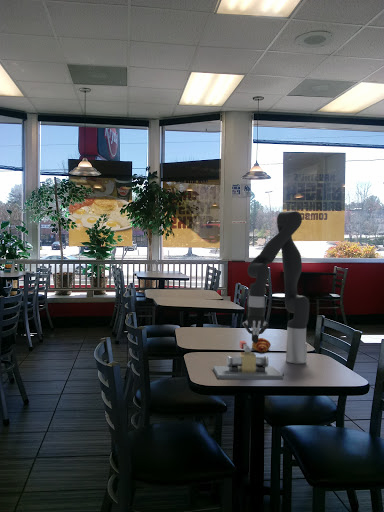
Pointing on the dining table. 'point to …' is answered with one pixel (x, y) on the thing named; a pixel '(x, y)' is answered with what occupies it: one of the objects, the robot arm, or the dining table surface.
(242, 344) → the lever
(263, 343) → the croissant
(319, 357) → the dining table surface
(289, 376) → the dining table surface
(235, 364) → the valve pipe
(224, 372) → the slate board
